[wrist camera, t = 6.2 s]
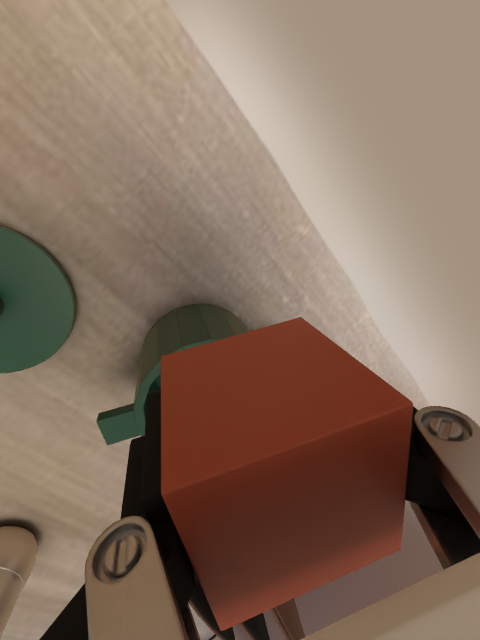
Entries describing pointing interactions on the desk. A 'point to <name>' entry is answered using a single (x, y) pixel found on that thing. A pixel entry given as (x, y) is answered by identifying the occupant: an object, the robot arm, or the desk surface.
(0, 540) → the plastic bottle
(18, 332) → the lid
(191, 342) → the pot
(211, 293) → the desk surface
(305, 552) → the block
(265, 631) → the letter holder
